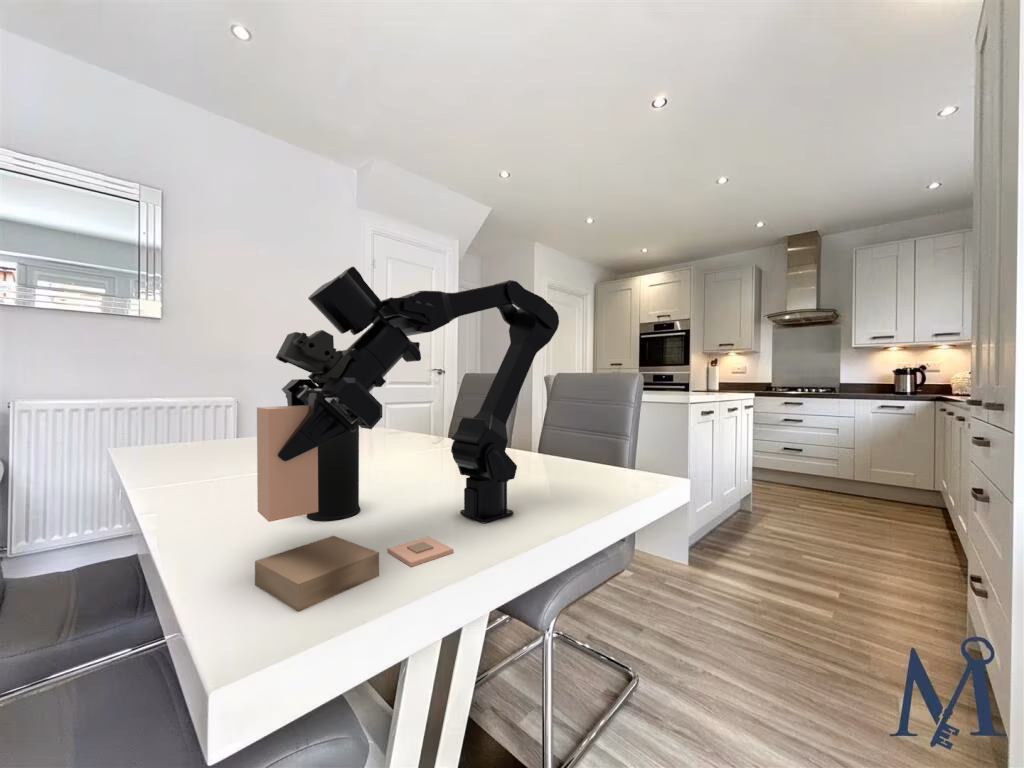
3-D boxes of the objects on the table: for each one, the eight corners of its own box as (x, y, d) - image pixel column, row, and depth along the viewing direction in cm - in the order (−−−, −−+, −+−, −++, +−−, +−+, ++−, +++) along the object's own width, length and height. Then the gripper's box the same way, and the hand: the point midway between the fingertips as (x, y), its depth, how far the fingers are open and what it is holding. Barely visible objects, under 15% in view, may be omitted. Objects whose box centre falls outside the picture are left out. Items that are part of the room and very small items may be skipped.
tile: (428, 539, 57) (428, 534, 57) (453, 552, 52) (453, 547, 52) (387, 551, 53) (387, 546, 53) (411, 566, 48) (411, 560, 48)
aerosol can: (371, 510, 70) (371, 392, 70) (327, 524, 63) (328, 393, 63) (339, 503, 74) (339, 392, 74) (295, 516, 67) (296, 393, 67)
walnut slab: (333, 559, 51) (333, 535, 51) (379, 579, 46) (379, 552, 46) (254, 589, 44) (254, 560, 44) (298, 616, 39) (298, 584, 39)
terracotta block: (304, 502, 51) (303, 405, 51) (318, 511, 47) (317, 407, 47) (257, 511, 47) (256, 407, 47) (268, 521, 44) (268, 409, 44)
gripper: (298, 321, 57) (199, 404, 49) (354, 300, 43) (228, 411, 36) (355, 378, 62) (273, 461, 55) (420, 376, 49) (324, 486, 41)
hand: (274, 455), depth 46 cm, fingers closed on terracotta block, 5 cm apart
